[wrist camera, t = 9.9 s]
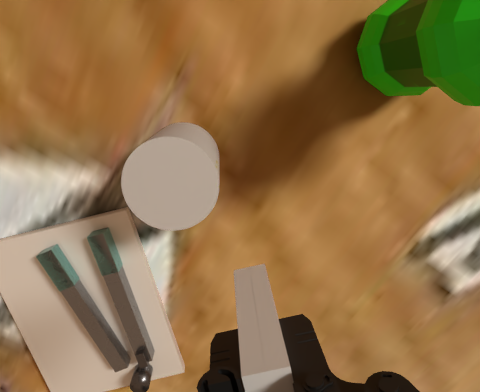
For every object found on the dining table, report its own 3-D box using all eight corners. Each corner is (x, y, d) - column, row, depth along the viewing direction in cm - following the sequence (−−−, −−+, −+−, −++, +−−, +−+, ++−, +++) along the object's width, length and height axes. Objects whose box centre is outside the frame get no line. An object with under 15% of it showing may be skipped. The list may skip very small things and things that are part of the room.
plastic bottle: (384, -24, 37) (675, -220, 13) (455, 38, 40) (817, -34, 16) (324, 61, 39) (485, 22, 16) (395, 116, 42) (633, 157, 18)
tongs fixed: (82, 230, 44) (69, 244, 40) (111, 223, 44) (101, 236, 40) (139, 371, 50) (133, 395, 46) (165, 365, 50) (160, 388, 46)
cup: (187, 205, 43) (176, 248, 32) (133, 159, 41) (100, 188, 30) (233, 156, 42) (239, 182, 31) (180, 106, 40) (164, 115, 29)
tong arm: (42, 250, 42) (35, 256, 41) (57, 243, 42) (51, 249, 41) (117, 363, 48) (114, 372, 46) (131, 358, 47) (128, 367, 46)
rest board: (-17, 242, 43) (-23, 247, 42) (128, 206, 43) (125, 210, 42) (60, 395, 50) (56, 403, 49) (184, 365, 50) (184, 372, 49)
